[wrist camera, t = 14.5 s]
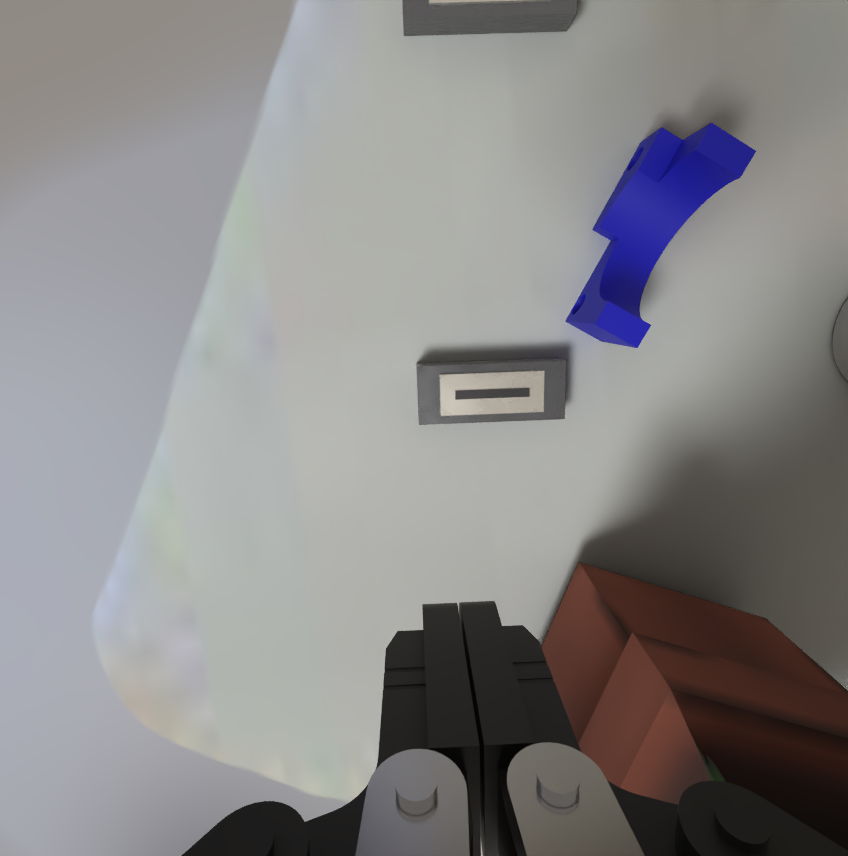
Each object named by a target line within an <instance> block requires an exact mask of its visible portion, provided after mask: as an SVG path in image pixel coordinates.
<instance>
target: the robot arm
mask: <svg viewBox="0 0 848 856" xmlns="http://www.w3.org/2000/svg"><path fill="white" fill-rule="evenodd" d="M832 348H833V353H834V359H835V362H836V364H837V367H838V369H839V371H840V372H841V374H842V375H843V376H844V378H845V379H846V380H847V381H848V299H847V300H846V302H845V303H844V305H843V306H842V309H841V311H840V313H839V315H838V317H837V319H836V323H835V327H834V331H833V345H832ZM383 686H384V690H383V700H382V714H381V728H380V742H379V756H378V763H377V767H376V770H375V772H374V773H373V775H372V776H371V779H370V781H369V783H368V785H367V787H366V788H365V789H364V790H363V791H362V792H361V793H360V794H359V795H358V796H357V797H356V798H355V799H354V800H352V801H351V802H350V803H348V804H346V805H345V806H343V807H341V808H339V809H337V810H335V811H333V812H330V813H327V814H325V815H322V816H320V817H317V818H314V819H312V820H309V821H307V822H304V820H303V819H302V817H301V815H300V814H299V813H298V812H297V811H296V810H295V809H293V808H292V807H290V806H288V805H286V804H283V803H279V802H274V801H264V802H258V803H253V804H250V805H247V806H244V807H242V808H240V809H238V810H236V811H234V812H233V813H231V814H230V815H228V816H227V817H225V818H224V819H223V820H221V821H220V822H219V823H218V824H217V825H216V826H214V827H213V828H212V829H211V830H210V831H209V832H208V833H207V834H205V835H204V836H203V837H202V838H201V839H200V840H199V841H198V842H197V843H195V844H194V845H193V846H192V847H191V848H190V849H189V850H188V851H186V852H185V853H184V854H183V855H182V856H481V844H482V852H483V856H848V851H847V850H846V849H844V848H843V847H841V846H839V845H838V844H836V843H835V842H833V841H831V840H830V839H828V838H827V837H825V836H823V835H822V834H820V833H819V832H817V831H815V830H814V829H812V828H810V827H809V826H807V825H806V824H804V823H802V822H801V821H799V820H798V819H796V818H794V817H793V816H791V815H790V814H788V813H786V812H785V811H783V810H782V809H780V808H778V807H777V806H775V805H774V804H772V803H770V802H769V801H767V800H765V799H764V798H762V797H761V796H759V795H757V794H755V793H753V792H752V791H750V790H747V789H745V788H743V787H741V786H738V785H735V784H731V783H727V782H722V781H702V782H698V783H695V784H693V785H691V786H690V787H688V788H687V789H686V790H685V791H684V792H683V794H682V796H681V797H680V801H679V805H677V804H673V803H669V802H665V801H661V800H657V799H653V798H649V797H645V796H641V795H638V794H635V793H632V792H629V791H626V790H624V789H622V788H620V787H618V786H616V785H614V784H613V783H611V782H609V781H608V780H607V779H606V777H605V776H604V774H603V772H602V771H601V769H600V768H599V767H598V766H597V765H596V764H595V763H594V762H593V761H592V760H591V759H590V758H589V757H588V756H586V755H585V754H583V753H582V751H581V749H580V747H579V744H578V742H577V739H576V736H575V734H574V731H573V729H572V726H571V723H570V721H569V718H568V716H567V713H566V710H565V708H564V705H563V702H562V700H561V697H560V695H559V692H558V689H557V687H556V684H555V682H553V676H552V674H551V671H550V669H549V666H548V665H547V661H546V658H545V655H544V653H543V650H542V648H541V645H540V642H539V641H538V640H537V639H536V638H535V637H534V636H533V635H532V634H531V633H530V632H529V631H528V630H527V629H526V628H525V627H524V626H523V625H520V626H502V625H501V621H500V617H499V614H498V610H497V607H496V604H495V602H494V601H484V602H462V603H459V612H458V606H457V603H443V604H423V630H414V631H397V633H396V635H395V636H394V638H393V639H392V641H391V642H390V644H389V645H388V647H387V648H386V657H385V673H384V685H383ZM480 837H481V841H480Z"/></svg>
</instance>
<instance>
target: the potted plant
mask: <svg viewBox="0 0 848 856" xmlns="http://www.w3.org/2000/svg"><path fill="white" fill-rule="evenodd" d="M541 648H542V650H543V653H544V655H545V658H546V661H547V665H548V666H549V669H550V671H551V674H552V676H553V682H555V684H556V687H557V689H558V692H559V695H560V697H561V700H562V702H563V705H564V708H565V710H566V713H567V716H568V718H569V721H570V723H571V726H572V729H573V731H574V734H575V736H576V739H577V742H578V744H579V747H580V749H581V751H582V753H583V754H585V755H586V756H588V757H589V758H590V759H591V760H592V761H593V762H594V763H595V764H596V765H597V766H598V767H599V768H600V769H601V771H602V772H603V774H604V776H605V777H606V779H607V780H608V781H609V782H611V783H613V784H614V785H616V786H618V787H620V788H622V789H624V790H626V791H629V792H632V793H635V794H638V795H641V796H645V797H649V798H653V799H657V800H661V801H665V802H669V803H673V804H677V805H679V801H680V797H681V796H682V794H683V792H684V791H685V790H686V789H687V788H688V787H690V786H691V785H693V784H695V783H698V782H702V781H722V782H727V783H731V784H735V785H738V786H741V787H743V788H745V789H747V790H750V791H752V792H753V793H755V794H757V795H759V796H761V797H762V798H764V799H765V800H767V801H769V802H770V803H772V804H774V805H775V806H777V807H778V808H780V809H782V810H783V811H785V812H786V813H788V814H790V815H791V816H793V817H794V818H796V819H798V820H799V821H801V822H802V823H804V824H806V825H807V826H809V827H810V828H812V829H814V830H815V831H817V832H819V833H820V834H822V835H823V836H825V837H827V838H828V839H830V840H831V841H833V842H835V843H836V844H838V845H839V846H841V847H843V848H844V849H846V850H847V851H848V690H846V689H845V688H844V687H843V686H842V685H841V684H840V683H838V682H837V681H836V680H835V679H834V678H833V677H832V676H831V675H829V674H828V673H827V672H826V671H825V670H824V669H823V668H821V667H820V666H819V665H818V664H817V663H816V662H815V661H814V660H812V659H811V658H810V657H809V656H808V655H807V654H806V653H804V652H803V651H802V650H801V649H800V648H799V647H798V646H797V645H795V644H794V643H793V642H792V641H791V640H790V639H789V638H787V637H786V636H785V635H784V634H783V633H782V632H781V631H780V630H778V629H777V628H776V627H775V626H774V625H773V624H772V623H771V622H769V621H768V620H767V619H766V618H763V617H759V616H756V615H753V614H749V613H746V612H743V611H739V610H736V609H733V608H729V607H726V606H723V605H719V604H716V603H713V602H709V601H706V600H703V599H699V598H696V597H693V596H689V595H686V594H683V593H679V592H676V591H673V590H669V589H666V588H663V587H659V586H656V585H653V584H649V583H646V582H643V581H639V580H636V579H633V578H629V577H626V576H623V575H619V574H616V573H613V572H609V571H606V570H603V569H599V568H596V567H593V566H589V565H586V564H583V563H578V565H577V568H576V570H575V572H574V574H573V577H572V579H571V581H570V584H569V586H568V588H567V590H566V593H565V595H564V597H563V599H562V602H561V604H560V606H559V609H558V611H557V613H556V615H555V618H554V620H553V622H552V625H551V627H550V629H549V631H548V634H547V636H546V638H545V641H544V643H543V645H542V647H541Z"/></svg>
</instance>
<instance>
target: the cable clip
mask: <svg viewBox="0 0 848 856" xmlns="http://www.w3.org/2000/svg"><path fill="white" fill-rule="evenodd" d="M755 152H756V151H755V150H754V149H752V148H750V147H749V146H747V145H746V144H744V143H743V142H741V141H739V140H738V139H736V138H735V137H733V136H732V135H730V134H728V133H727V132H725V131H724V130H722V129H721V128H719V127H717V126H716V125H714V124H713V123H710V124H708V125H707V126H705V127H704V128H702V129H700V130H699V131H697V132H695V133H694V134H692V135H690V136H689V137H687V138H686V139H684V140H681V139H680V138H678V137H677V136H675V135H673V134H672V133H670V132H669V131H667V130H665V129H664V128H662V127H661V128H660V129H659V130H657V131H656V132H654V133H653V134H652V135H650V136H649V137H648V138H646V139H645V140H643V141H642V142H641V143H640V145H639V147H638V148H637V150H636V152H635V154H634V156H633V157H632V159H631V161H630V163H629V165H628V166H627V168H626V170H625V172H624V174H623V175H622V177H621V179H620V181H619V183H618V184H617V186H616V188H615V190H614V192H613V193H612V195H611V197H610V199H609V200H608V202H607V204H606V206H605V208H604V209H603V211H602V213H601V215H600V217H599V218H598V220H597V222H596V224H595V226H594V227H593V229H592V230H594V231H596V232H597V233H599V234H601V235H602V236H604V237H606V238H608V239H609V240H611V242H610V243H609V245H608V247H607V249H606V250H605V252H604V254H603V256H602V258H601V259H600V261H599V263H598V265H597V266H596V268H595V270H594V272H593V273H592V275H591V277H590V279H589V280H588V282H587V284H586V286H585V287H584V289H583V291H582V293H581V295H580V296H579V298H578V300H577V302H576V303H575V305H574V307H573V309H572V310H571V312H570V314H569V316H568V317H567V319H566V322H567V323H569V324H571V325H573V326H575V327H576V328H578V329H580V330H582V331H584V332H585V333H587V334H589V335H591V336H593V337H595V338H596V339H598V340H600V341H602V342H608V343H613V344H618V345H624V346H629V347H635V348H638V346H639V344H640V343H641V341H642V339H643V338H644V336H645V334H646V333H647V331H648V329H649V328H650V326H651V325H650V324H648V323H647V322H645V321H643V320H642V319H641V317H640V311H639V309H640V300H641V296H642V293H643V289H644V287H645V284H646V282H647V279H648V277H649V275H650V273H651V271H652V269H653V267H654V265H655V264H656V262H657V260H658V259H659V257H660V255H661V254H662V252H663V251H664V249H665V248H666V246H667V245H668V243H669V242H670V241H671V239H672V238H673V236H674V235H675V234H676V233H677V231H678V230H679V229H680V228H681V226H682V225H683V224H684V223H685V222H686V221H687V219H688V218H689V217H690V216H691V215H692V214H693V213H694V212H695V211H696V210H697V209H698V208H699V207H700V206H701V205H702V204H703V203H704V202H705V201H706V200H707V199H708V198H710V197H711V196H712V195H713V194H714V193H716V192H717V191H718V190H720V189H721V188H722V187H724V186H725V185H727V184H728V183H730V182H732V181H734V180H736V179H738V178H740V177H741V175H742V174H743V172H744V170H745V169H746V167H747V165H748V164H749V162H750V161H751V159H752V157H753V156H754V154H755Z"/></svg>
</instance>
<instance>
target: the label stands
mask: <svg viewBox="0 0 848 856" xmlns="http://www.w3.org/2000/svg"><path fill="white" fill-rule="evenodd" d="M402 1H403V26H404V36H416V35H451V34H486V33H522V32H557V31H567V29H568V28H569V26H570V24H571V22H572V20H573V19H574V17H575V15H576V13H577V0H402ZM565 386H566V360H563V359H560V358H535V359H509V360H483V361H457V362H430V363H417V387H418V413H419V425H426V424H451V423H476V422H501V421H526V420H551V419H565Z"/></svg>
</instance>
